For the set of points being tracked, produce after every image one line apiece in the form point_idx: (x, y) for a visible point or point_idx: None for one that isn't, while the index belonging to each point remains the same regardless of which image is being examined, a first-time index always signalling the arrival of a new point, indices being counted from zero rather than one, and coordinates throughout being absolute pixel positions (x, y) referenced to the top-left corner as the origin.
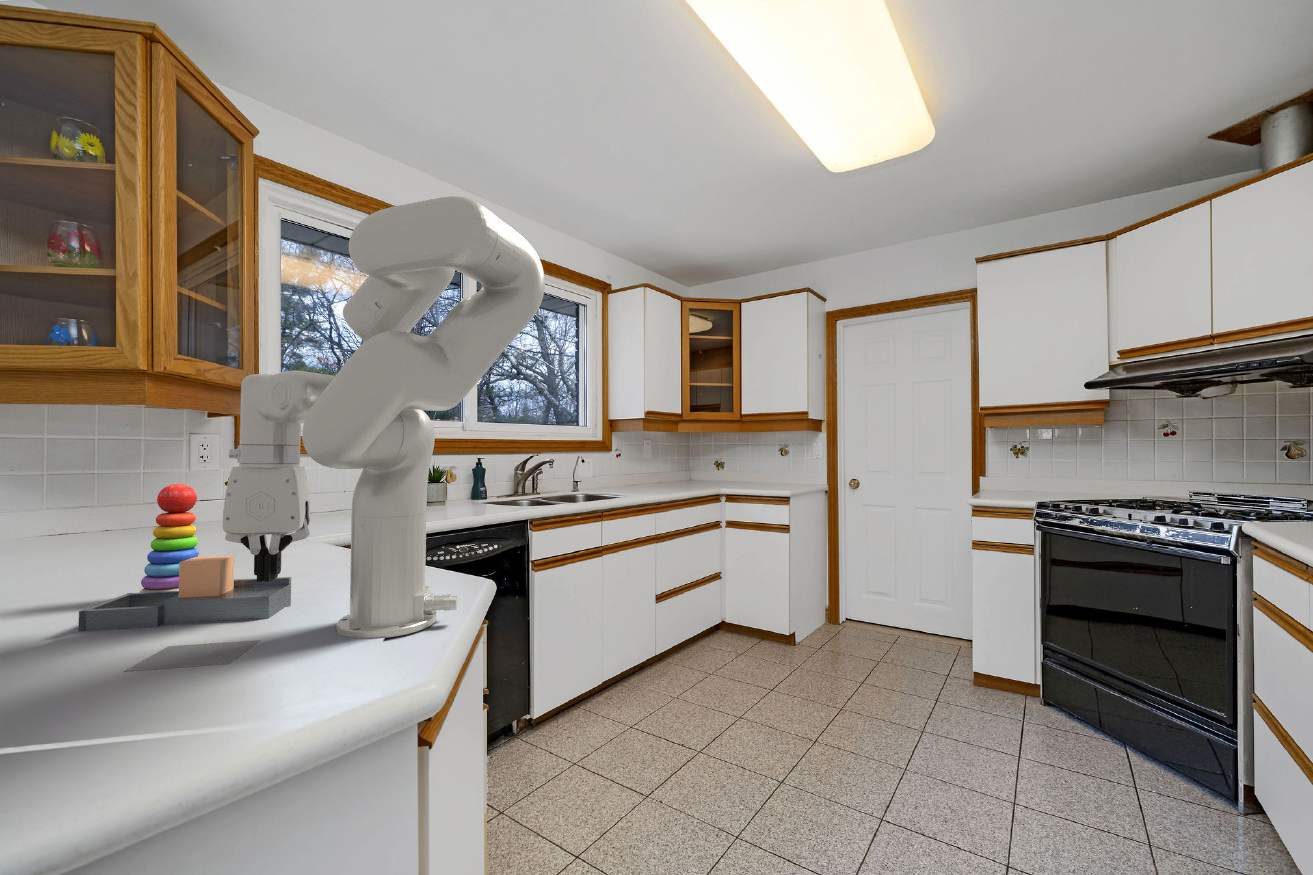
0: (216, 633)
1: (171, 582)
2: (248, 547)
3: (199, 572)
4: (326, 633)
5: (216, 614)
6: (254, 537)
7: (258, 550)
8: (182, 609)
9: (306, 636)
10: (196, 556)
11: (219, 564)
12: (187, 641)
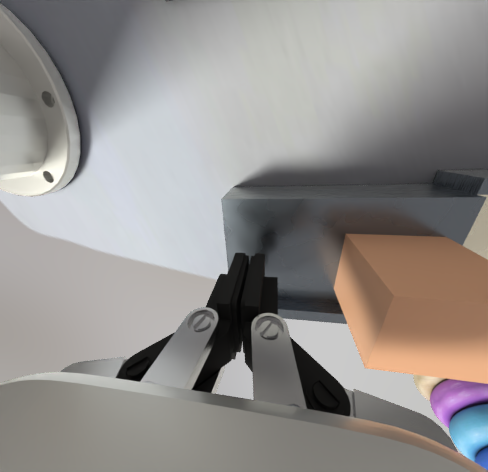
0: (299, 112)
1: (484, 383)
2: (302, 354)
3: (443, 273)
4: (78, 69)
5: (329, 189)
6: (270, 397)
7: (257, 330)
8: (412, 192)
9: (103, 51)
10: (479, 462)
11: (387, 284)
12: (341, 49)
